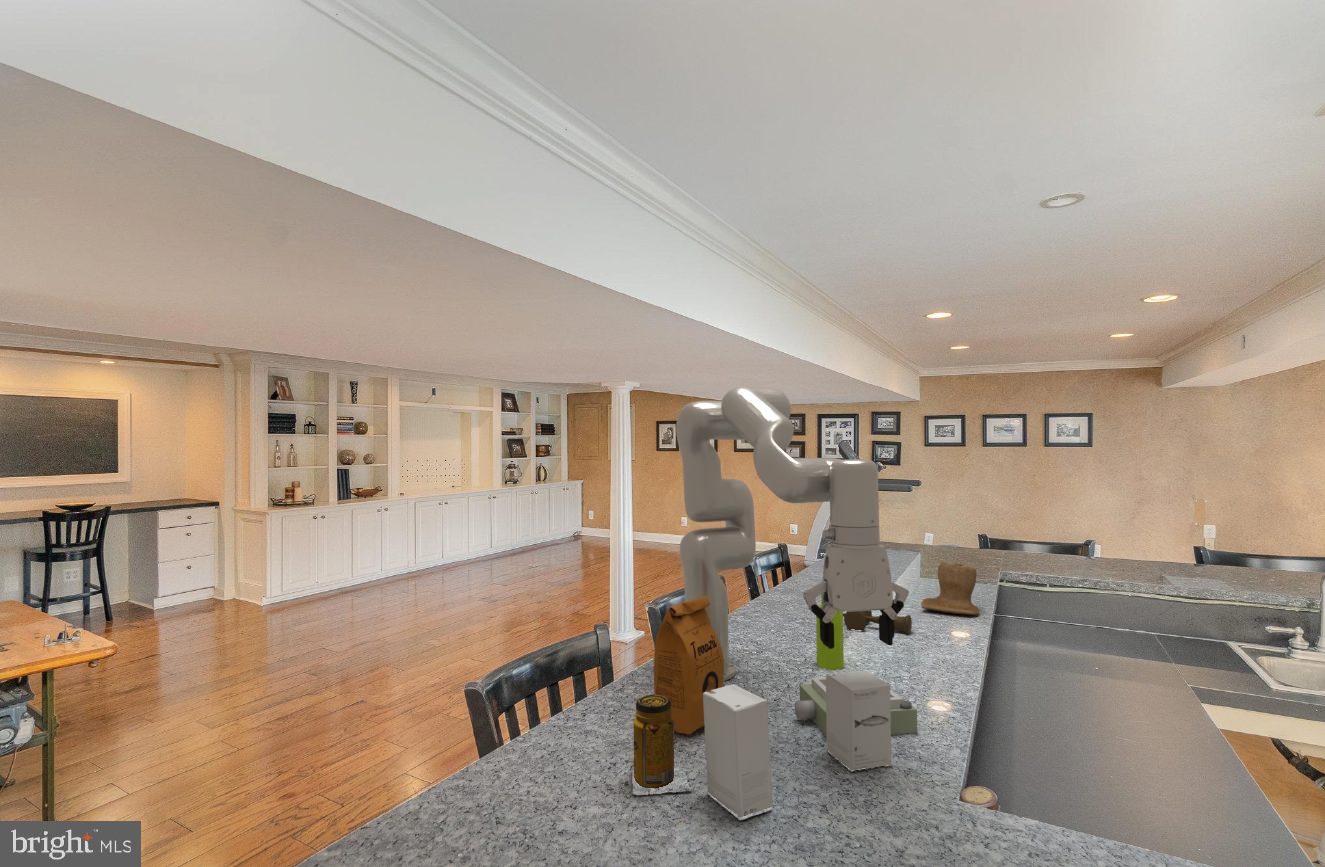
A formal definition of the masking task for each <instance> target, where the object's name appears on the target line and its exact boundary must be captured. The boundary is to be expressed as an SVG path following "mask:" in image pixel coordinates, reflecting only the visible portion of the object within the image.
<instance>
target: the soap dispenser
mask: <svg viewBox="0 0 1325 867" xmlns="http://www.w3.org/2000/svg"><path fill="white" fill-rule="evenodd" d="M821 579H822V581H823V576H822V577H821ZM820 596H821V604H819V605H818V604H817V605H818V606H819V607H820V608H821V607H822V606H823V604H824V601H823V594H821V595H820ZM843 613H844V612H841V611H837V612H836V614H835V615H834V616H833V618H832V619H831V622H832V623H833V624H834V648H833V649H829V648H828V647H827V646H825V645H824V644H823V642H822V641H821V639H820V619H819V618H818V617H817V616H816V615H815V621H816V622H815V624H816V625H815V626H816V628H815V629H816V632H815V633H816V638H815V639H816V666H817V665H818V666H819V668H820V669H823V668H826V669H825V670H827V669H831V670H830V671H837V670H836V669H839V670H842V669H844V668H845V667H844V666H845V664H844V662H845V661H844V656H845V655H844V621H843V620H844V616H843ZM818 666H817V667H818ZM841 668H842V669H841Z"/></svg>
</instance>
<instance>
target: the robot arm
mask: <svg viewBox="0 0 1325 867" xmlns="http://www.w3.org/2000/svg"><path fill="white" fill-rule="evenodd" d="M791 410H792V408H791V403H790V400H789V398H788V397H787V395H786V394H785V393H784V392H783V391H782V390H780V389H777V388H774V387H763V386H738V387H734V388H732V389H729V391H727V392H726V393H725V395H724V396H723V397H722V399H721V400H697V401H692V402H689V403H687V404H686V405H684V406H683V407H682V408H681V410H680V412H679V413H678V416H677V419H676V426H675V427H676V429H675V432H676V440H677V444H678V448H679V452H680V455H681V460H682V476H683V477H682V478H683V501H684V509H685V510H684V511H685V514H686V516H687V518H688V519H689V520H690V521H692V522H695V523H715V522H725V526H724V527H723V526H722V527H709V528H707V527H706V528H699V529H694V530H691V531H690V532H687V533H686V534H684V535H683V537H682V539H681V541H680V544H679V556H680V562H681V566H682V567H681V568H682V573H683V580H684V602H686V601H690V600H693V599H697V598H701V597H704V596H707V597H708V599H709V602H710V605H709V606H708V607H705V610H706V611H707V613H708V616H709V619H710V623H711V626H712V627H713V629H714V631H715V633H716V635H717V637H718V640H719V643H720V645H721V648H722V653H723V658H724V682H725V681H728V680H730V679H732V678H734V676H736V674H737V668H736V665H735V664H733V663H732V662H730V661H729V658H730V657H729V656H730V655H729V654H730V653H729V652H730V651H729V600H728V599H729V596H728V593H729V592H728V590H727V586H726V585H725V583H724V581H723V580H722V578H721V576H720V575H719V572H723V571H730V570H737V569H739V570H740V569H744V568H747V567H748V566H750V565H751V564H752V562H754V559H755V556H756V550H757V549H756V548H757V547H756V545H757V544H756V543H757V542H756V525H755V522H756V520H755V506H754V499H753V494H752V492H751V490H750V488H749V486H748V485H747V484H746V483H745V482H744V481H743V480H740V479H736V478H723V477H722V470H721V469H722V464H721V458H720V456H719V454H718V452H717V450H716V449H715V447H714V446H713V445H712V444H711V442H710V440H721V441H722V440H723V441H724V440H725V441H726V440H727V441H730V440H732V441H733V440H734V441H741V440H742V441H743V440H746V442H748V444H749V445H751V447H753V454H752V457H753V464H754V468H755V472H756V474H757V476H758V479H759V480H760V481H761V482H762V483H763V484H764V485H765V486H766V487H767V488H768V490H770V491H771V492H772V494H774V495H775V496H776V497H777V498H779V499H780V500H782V501H784V502H786V503H790V504H806V503H807V504H808V503H827V502H828V503H829V522H830V523H829V524H830V525H829V526H828V529H823V530H822V538H823V539H824V540H825V539H828V540H829V542H830V544H826V549H825V554H824V561H823V568H822V569H823V570H822V577H823V580H822V581H821V582H819V583H817V584H816V585H814V586H813V587H811V588H810V589H808V590H806V591H805V592H803V593H802V597H803V600H804V601H805V603H806V605H807V607H808V609H809V610H810V612H811V613H813V614H814V616H815V617H816V616H817V617H818V618H819V619H820V639H821V641H822V642H823V644H824V645H825V646H827V647H828V648H829V649H833V648H834V624H833V623H832V622H831V619H832V618H833V616H834V615H835V614H836V612H837V611H841V612H843V613H846V612H851V611H879V612H880V613H881V614H879V624H878V638H879V639H878V640H879V641H881V642H883V643H884V644H886V645H888V646H893V644H894V642H893V639H894V638H895V630H894V620H895V619H896V618H897V616H898V614H899V613H900V612H901V611H902V610H903V608H904V607H905V602H906V600H907V599H908V596H909V594H910V591H909V590H908V588H905V587H903V586H901V585H899V584H897V583H894V582H893V581H892V573H891V566H890V561H889V557H888V553H887V548H886V545H884V544H881V542H880V541H881V539H880V537H881V536H880V533H881V532H880V503H879V499H880V497H879V471H878V469H879V468H878V466H877V464H876V463H875V461H873V460H871V459H862V458H861V459H858V458H857V459H856V458H854V459H843V458H842V459H841V458H834V457H801V458H799V457H798V458H797V457H796V458H793V457H791V456H790V455H789V454H788V453H786V452H785V450H786V449H787V448H788V447H789V445H790V444H791V442H792V439H793V436H794V431H795V430H794V425H793V423H792V421H791V420H790V416H791V413H792V411H791ZM894 593H895V596H894V597H893V594H894ZM821 594H823V601H824V604H823V606H822V607H821V608H820V607H819V606H818V603H817V601H816V600H817V598H818V597H819V596H821Z"/></svg>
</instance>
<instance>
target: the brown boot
mask: <svg viewBox="0 0 1325 867" xmlns="http://www.w3.org/2000/svg"><path fill="white" fill-rule="evenodd" d="M937 577H938V578H937V579H938V585H939V595H938V596H937V597H926V598H924V599H923V600H922V601H921V603H920V607H921V608H922V609H923V610H928V611H933V612H939V613H947V614H957V615H977V614H979V613H980V608H979V607H977V606H975V605H974V604H973V603H972V595H973V591H974V589H975V587H976V583H977V568H976V567H975V566H973V565H971V564H964V563H958V562H957V563H956V562H951V561H945V560H944V561H942V560H941V561H940V562H939V564H938V566H937Z"/></svg>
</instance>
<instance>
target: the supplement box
mask: <svg viewBox="0 0 1325 867" xmlns="http://www.w3.org/2000/svg"><path fill="white" fill-rule="evenodd" d="M825 677H826V721H827V737H826V752H827V751H829V752H830V753H831V754H832V755H833V756H834V757H835V758H837V759H838V760H839V761H840V762H842V763H843V764H844V765H845V766H847V767H848V768H849V769H850V770H858V769H862V768H871V769H875V768H874V767H877V766H884V767H887V766H886V765H891V766H892V735H891V705H890V689H891V684H889V683H888V682H886V681H884V680H883V679H880V678H879V677H877V676H875V675H873V674H872V673H869V672H868V671H866V670H857V671H856V670H855V671H848V672H838V673H829V674H826V675H825ZM832 755H831V756H832ZM833 756H832V757H833ZM834 757H833V758H834ZM835 758H834V759H835Z"/></svg>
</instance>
